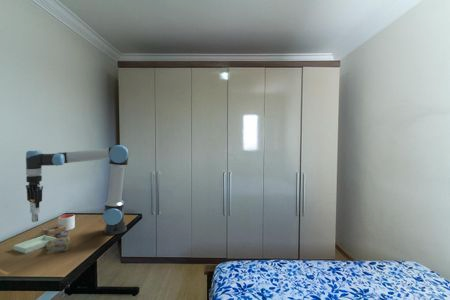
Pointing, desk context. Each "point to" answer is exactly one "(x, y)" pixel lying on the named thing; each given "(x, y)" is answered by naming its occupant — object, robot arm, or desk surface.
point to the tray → (33, 244)
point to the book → (58, 244)
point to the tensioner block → (55, 231)
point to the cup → (67, 221)
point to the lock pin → (34, 216)
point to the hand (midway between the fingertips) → (34, 212)
